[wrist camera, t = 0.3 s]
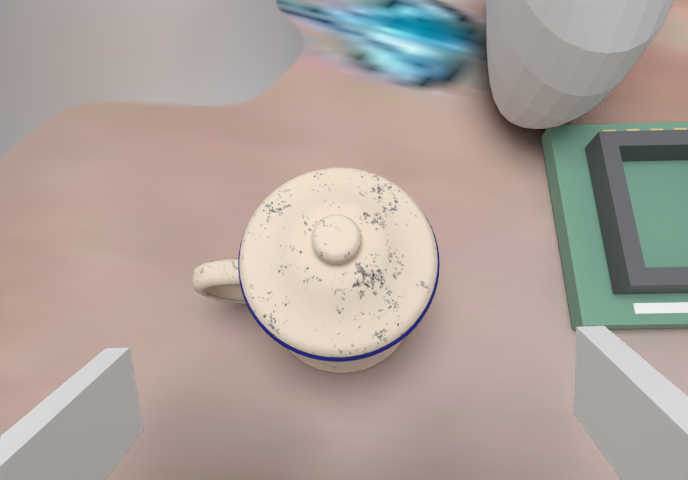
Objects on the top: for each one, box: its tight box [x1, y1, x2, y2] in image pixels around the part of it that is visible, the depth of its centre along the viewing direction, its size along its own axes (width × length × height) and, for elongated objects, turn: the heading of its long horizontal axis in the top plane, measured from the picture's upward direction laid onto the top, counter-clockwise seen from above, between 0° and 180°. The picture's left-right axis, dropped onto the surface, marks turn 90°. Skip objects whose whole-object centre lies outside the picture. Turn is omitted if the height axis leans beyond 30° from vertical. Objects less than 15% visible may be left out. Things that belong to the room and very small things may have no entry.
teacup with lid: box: [193, 168, 439, 373], centre depth 26 cm, size 12×9×12 cm
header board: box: [541, 122, 688, 330], centre depth 31 cm, size 13×12×4 cm
